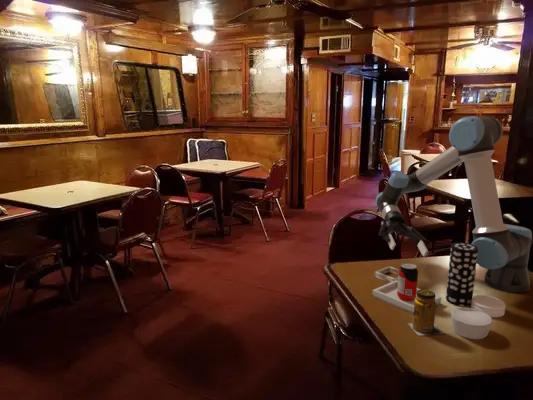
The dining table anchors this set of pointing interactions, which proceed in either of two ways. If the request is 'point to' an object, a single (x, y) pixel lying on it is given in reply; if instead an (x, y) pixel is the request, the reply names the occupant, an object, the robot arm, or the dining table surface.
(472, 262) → the spotted tube
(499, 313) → the shallow round dish
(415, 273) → the beverage can
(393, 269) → the collar
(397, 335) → the dining table surface
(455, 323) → the ramekin
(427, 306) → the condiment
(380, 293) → the tray
